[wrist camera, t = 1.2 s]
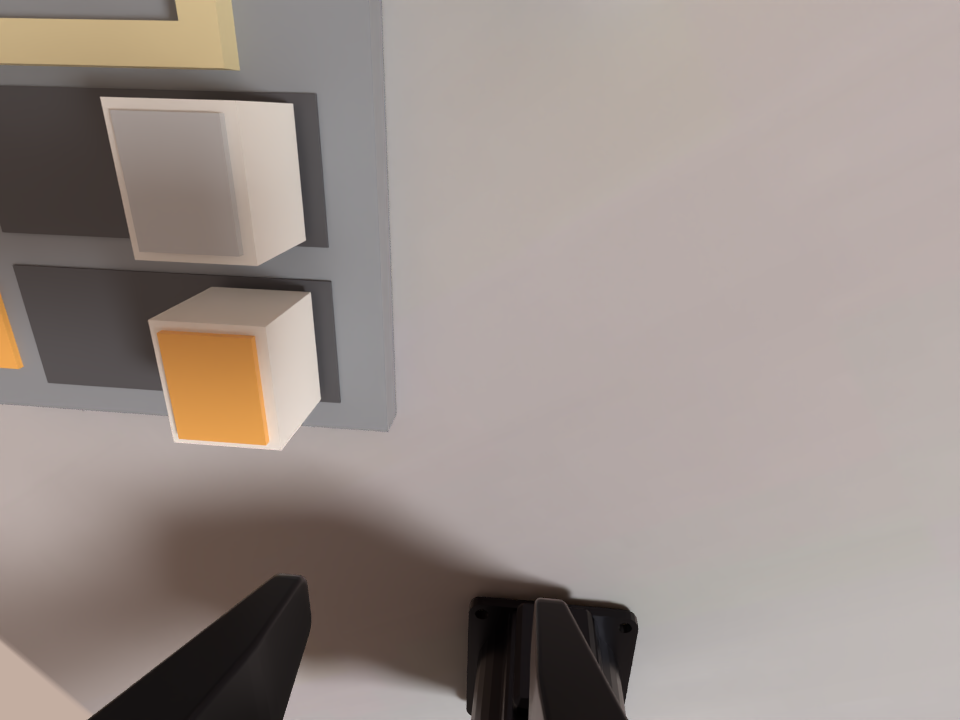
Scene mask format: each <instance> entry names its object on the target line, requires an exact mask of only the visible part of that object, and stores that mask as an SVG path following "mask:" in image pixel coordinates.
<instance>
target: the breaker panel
mask: <svg viewBox="0 0 960 720" xmlns="http://www.w3.org/2000/svg"><path fill="white" fill-rule="evenodd" d="M100 97H125V98H161V99H198V100H234V101H254V102H273V103H292V104H293V108H294V119H295V129H296V140H297V150H298V161H299V172H300V182H301V193H302V204H303V214H304V225H305V236H306V241H304V242H302V243H300V244H298V245H296V246H294V247H293V248H291V249H289V250H287V251H285V252H283V253H281V254H279V255H277V256H276V257H274V258H272V259H270V260H268V261H266V262H264V263H262V264H260V265H259V266H247V265H227V264H207V263H187V262H167V261H148V260H135V258H134V253H133V248H132V244H131V239H130V234H129V230H128V225H127V220H126V216H125V211H124V206H123V202H122V197H121V192H120V188H119V183H118V178H117V174H116V169H115V164H114V160H113V155H112V150H111V146H110V141H109V136H108V132H107V127H106V122H105V118H104V113H103V108H102V104H101V99H100ZM210 287H226V288H244V289H263V290H281V291H300V292H311V300H312V310H313V321H314V332H315V342H316V353H317V363H318V374H319V385H320V395H321V400H320V401H319V403H318V404H317V405H316V406H315V408H314V409H313V410H312V412H311V413H310V414H309V415H308V417H307V418H306V419H305V421H304V422H303V423H302V425H301V426H311V427H325V428H339V429H353V430H367V431H380V432H388V431H389V429H390V427H391V425H392V422H393V420H394V418H395V416H396V392H395V364H394V336H393V308H392V281H391V253H390V225H389V197H388V169H387V141H386V113H385V86H384V58H383V30H382V2H381V0H0V404H8V405H22V406H36V407H49V408H63V409H77V410H91V411H105V412H118V413H132V414H146V415H160V416H168V411H167V407H166V402H165V397H164V393H163V388H162V383H161V379H160V374H159V369H158V365H157V360H156V355H155V351H154V346H153V341H152V337H151V332H150V327H149V323H148V320H149V319H151V318H153V317H155V316H156V315H158V314H160V313H162V312H164V311H166V310H168V309H170V308H172V307H174V306H176V305H178V304H180V303H181V302H183V301H185V300H187V299H189V298H191V297H193V296H195V295H197V294H199V293H201V292H203V291H205V290H207V289H208V288H210Z"/></svg>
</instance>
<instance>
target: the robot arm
mask: <svg viewBox="0 0 960 720" xmlns="http://www.w3.org/2000/svg"><path fill="white" fill-rule="evenodd" d="M481 609H482V610H485V611H480V610H481ZM622 623H627V624H624V625H622ZM310 628H311V610H310V602H309V594H308V585H307V581H306V579H305V577H303V576H301V575H291V574H277V575H275V576H273V577H272V578H270V579H269V580H268V581H266V582H265V583H264V584H263V585H261V586H260V587H259V588H257V589H256V590H255V591H253V592H252V593H251V594H250V595H248V596H247V597H246V598H244V599H243V600H242V601H241V602H239V603H238V604H237V605H235V606H234V607H233V608H231V609H230V610H229V611H228V612H226V613H225V614H224V615H222V616H221V617H220V618H219V619H217V620H216V621H215V622H213V623H212V624H211V625H209V626H208V627H207V628H206V629H204V630H203V631H202V632H200V633H199V634H198V635H196V636H195V637H194V638H193V639H191V640H190V641H189V642H187V643H186V644H185V645H184V646H182V647H181V648H180V649H178V650H177V651H176V652H174V653H173V654H172V655H171V656H169V657H168V658H167V659H165V660H164V661H163V662H162V663H160V664H159V665H158V666H156V667H155V668H154V669H152V670H151V671H150V672H149V673H147V674H146V675H145V676H143V677H142V678H141V679H140V680H138V681H137V682H136V683H134V684H133V685H132V686H130V687H129V688H128V689H127V690H125V691H124V692H123V693H121V694H120V695H119V696H117V697H116V698H115V699H114V700H112V701H111V702H110V703H108V704H107V705H106V706H105V707H103V708H102V709H101V710H99V711H98V712H97V713H95V714H94V715H93V716H92V717H90V718H89V719H88V720H283V717H284V714H285V711H286V707H287V704H288V701H289V698H290V694H291V691H292V688H293V685H294V681H295V678H296V675H297V672H298V669H299V665H300V662H301V659H302V656H303V652H304V649H305V646H306V643H307V639H308V636H309V632H310ZM637 634H638V623H637V618H636V616H635V615H634V613H632V612H630V611H627V610H619V609H608V608H597V607H587V606H576V605H567V604H566V603H565V602H564V601H563V600H559V599H549V598H538V599H536V601H535V602H533V601H523V600H512V599H502V598H491V597H477V598H474V599H473V600H472V601H471V603H470V609H469V627H468V667H467V708H466V709H467V712H468V713H469V714H470V715H471V720H628V719H627V717H626V713H625V706H624V704H625V699H626V693H627V688H628V682H629V677H630V672H631V666H632V661H633V655H634V650H635V645H636V639H637Z"/></svg>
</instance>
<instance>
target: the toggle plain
mask: <svg viewBox="0 0 960 720" xmlns="http://www.w3.org/2000/svg"><path fill="white" fill-rule="evenodd" d="M100 99H101V104H102V108H103V113H104V118H105V122H106V127H107V132H108V136H109V141H110V146H111V150H112V155H113V160H114V164H115V169H116V174H117V178H118V183H119V188H120V192H121V197H122V202H123V206H124V211H125V216H126V220H127V225H128V230H129V234H130V239H131V244H132V248H133V253H134V258H135V260H148V261H167V262H187V263H207V264H227V265H247V266H259V265H260V264H262V263H264V262H266V261H268V260H270V259H272V258H274V257H276V256H277V255H279V254H281V253H283V252H285V251H287V250H289V249H291V248H293V247H294V246H296V245H298V244H300V243H302V242H304V241H306V236H305V225H304V214H303V204H302V193H301V182H300V172H299V161H298V150H297V140H296V129H295V119H294V108H293V104H292V103H273V102H254V101H234V100H198V99H161V98H125V97H100Z"/></svg>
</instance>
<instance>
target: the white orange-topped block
mask: <svg viewBox="0 0 960 720" xmlns="http://www.w3.org/2000/svg"><path fill="white" fill-rule="evenodd" d="M148 323H149V327H150V332H151V337H152V341H153V346H154V351H155V355H156V360H157V365H158V369H159V374H160V379H161V383H162V388H163V393H164V397H165V402H166V407H167V411H168V416H169V421H170V425H171V430H172V435H173V439H174V442H177V443H190V444H203V445H216V446H229V447H243V448H256V449H269V450H282V449H283V448H284V447H285V445H286V444H287V443H288V441H289V440H290V439H291V437H292V436H293V435H294V434H295V432H296V431H297V430H298V428H299V427H300V426H301V425H302V423H303V422H304V421H305V419H306V418H307V417H308V415H309V414H310V413H311V412H312V410H313V409H314V408H315V406H316V405H317V404H318V403H319V401H320V400H321V395H320V385H319V374H318V363H317V353H316V342H315V332H314V321H313V310H312V300H311V292H300V291H281V290H263V289H244V288H226V287H210V288H208V289H207V290H205V291H203V292H201V293H199V294H197V295H195V296H193V297H191V298H189V299H187V300H185V301H183V302H181V303H180V304H178V305H176V306H174V307H172V308H170V309H168V310H166V311H164V312H162V313H160V314H158V315H156V316H155V317H153V318H151V319H149V320H148Z"/></svg>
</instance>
